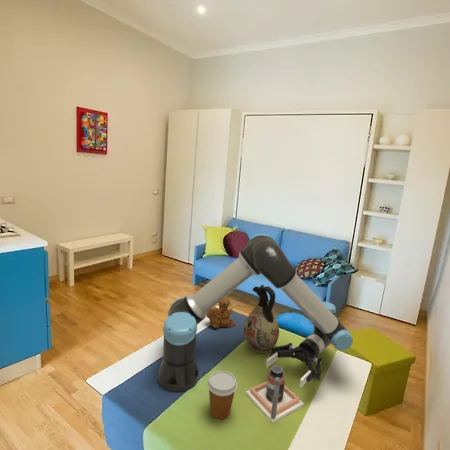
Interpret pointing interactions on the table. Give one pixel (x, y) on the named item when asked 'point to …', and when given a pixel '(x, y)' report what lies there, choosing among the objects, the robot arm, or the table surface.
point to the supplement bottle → (275, 372)
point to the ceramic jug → (262, 322)
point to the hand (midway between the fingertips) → (283, 373)
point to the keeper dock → (285, 399)
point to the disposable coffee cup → (221, 393)
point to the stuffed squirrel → (221, 315)
